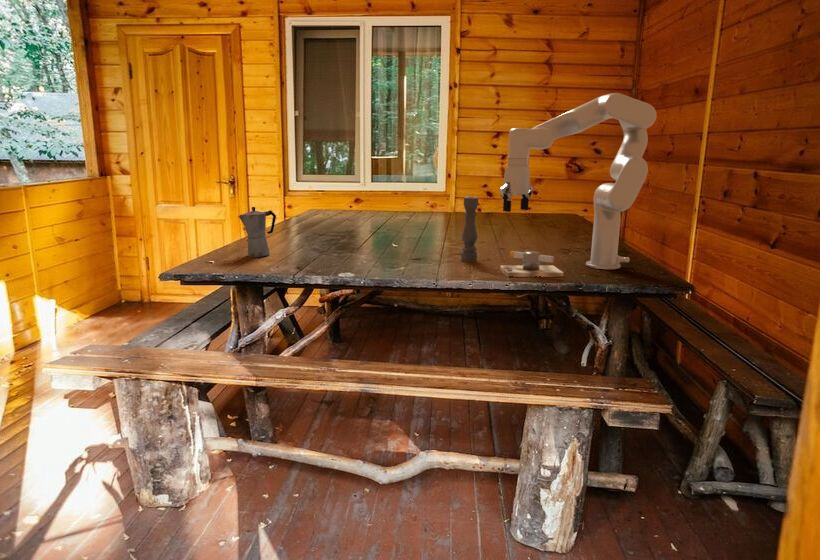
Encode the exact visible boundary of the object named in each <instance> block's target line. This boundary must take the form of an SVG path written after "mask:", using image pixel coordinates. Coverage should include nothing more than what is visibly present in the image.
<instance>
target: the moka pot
mask: <svg viewBox="0 0 820 560" xmlns="http://www.w3.org/2000/svg"><path fill="white" fill-rule="evenodd" d="M269 216H272V221H271V227H270V230H269V231H266V226H267V225H266V223H267V218H266V217H269ZM238 218H239V219H240V221H241V223H242V225H243V226H244V229H245V233H246V235H247V240H246V242H247V257H249V258H262V257H267V256H269V255H270V249H269V246H268V241H267V238H266V234H272V233H273V232H274V229H275V223H276V219H277V215H276V214H275V212H273V211H272V210H271V209H270V210H267V211H258V210H256V206H252V207H251V211H247V212H245V213H242V214H240V215H238Z"/></svg>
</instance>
